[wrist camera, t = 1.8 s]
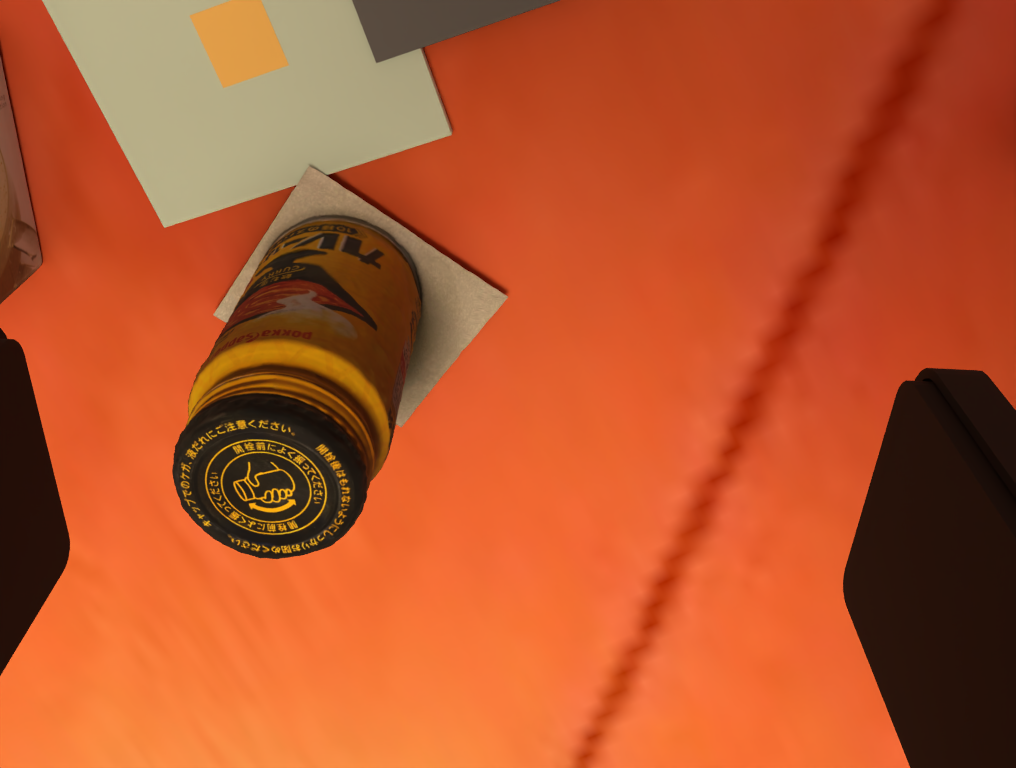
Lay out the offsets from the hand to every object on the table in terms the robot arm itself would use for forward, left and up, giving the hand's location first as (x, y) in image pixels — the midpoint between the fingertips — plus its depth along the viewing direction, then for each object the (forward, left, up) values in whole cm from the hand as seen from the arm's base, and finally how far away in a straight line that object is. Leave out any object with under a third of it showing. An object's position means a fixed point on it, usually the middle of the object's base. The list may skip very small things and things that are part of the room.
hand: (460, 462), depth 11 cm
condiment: (+8, +7, -24) cm, 27 cm away
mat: (+8, -3, -24) cm, 26 cm away
